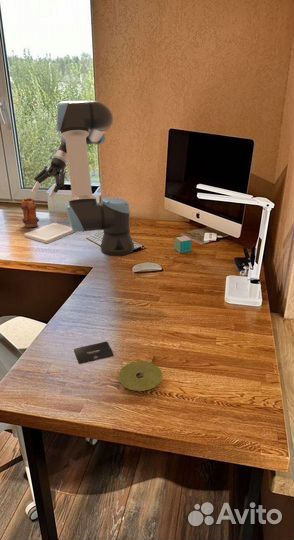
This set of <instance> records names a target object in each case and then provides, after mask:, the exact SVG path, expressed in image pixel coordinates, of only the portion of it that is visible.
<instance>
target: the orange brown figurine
mask: <svg viewBox="0 0 294 540" xmlns="http://www.w3.org/2000/svg"><path fill="white" fill-rule="evenodd" d="M20 208H21V210H22V214H23V218H22V219H21V221H22V223H23V224H24V226H25V227H26V228H34V227H37V226H38V223H39V221H40V219H39V217H37V212H36V211H37V210H36V209H37V208H38V207H37V205H36V203H35V199H34V198H29V197H28V198H27V197H26V198H24V199H23V198H22V199H21V205H20Z"/></svg>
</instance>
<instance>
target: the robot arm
mask: <svg viewBox="0 0 294 540" xmlns="http://www.w3.org/2000/svg"><path fill="white" fill-rule="evenodd" d="M56 110H57V111H56V112H57V113H56V131H57V132H58V133H60V137H61V138H60V145H59V147H58V149H57V150H56V152H55V154H54V156H53V158H52V160H51V161H50V166H49V167H48V166H47V165H46V166H44V168H43V169H42V170H41V171H40V172H39V173H38V174H37V175H36V176H35V177H34V181H35V183H34V185H33V187H32V189H31V193H32V194H33V195H36V194H37V192H38V191H39V189H40V187H41V185H42V184H41V183H42V182H44V181H45V180H47V179H48V178H50V177H52V178H53V177H54V179H55V184H54V185H53V187H52V189H51V190H50V192H49V194H48V196H49V197H50V198H51V199H54V198H55V195H56V194H57V193H58V191H59V190H60V188H61V187H62V188H64V186H65V178H66V174H67V171H66V170H65V168H66V166H67V164H68V172H69V184H70V191H71V198H70V199H69V200H68V203H69V204H67V205H66V206H65V209H66V214H67V218H68V223H69V227H71V228H72V230H73V231H75V232H74V233H79V232H82V233H84V232H91V231H103V236H102V240H101V243H100V252H101V253H102V254H104V255H107V256H112V257H120V256H121V257H122V256H127V255H129V254H131V253H133V252H134V251H133V249H134V250H135V243H134V242H133V238H132V235H131V225H130V224H131V223H130V221H131V220H130V218H131V216H130V213H131V210H130V204H129V202H128V201H127V200H126V199H123V198H119V197H114V196H111V197H104V198H102V200H101V202H97V198H96V196H94V195H93V191H92V181H91V172H90V164H89V154H88V146H87V145H103V144H104V143H105V141H106V137H105V136H106V134H105V133H106V131H107V130H109V129H110V128H111V127H112V125H113V123H114V116H113V113H112V111H111V109H110V108H109V107H108V106H107V105H106V104H104V103H102V102H101V101H98V100H67V101H66V100H65V101H60V102H58V103H57V108H56Z"/></svg>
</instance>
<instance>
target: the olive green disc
mask: <svg viewBox="0 0 294 540" xmlns="http://www.w3.org/2000/svg"><path fill="white" fill-rule="evenodd" d="M117 376H118V381H119V383H120V384H121V385H122V386H123V387H124V388H127V389H128V390H131V391H135V392H136V391H138V392H139V391H140V392H143V391H144V392H145V391H149V390H151V389H154V388H155V387H157V386H158V385H159V384H160V383H161V382H162V378H163V372H162V370H161V369H160V368H159V367H158V365H156V364H155V363H152V362H149V361H144V360H138V361H132V362H129V363H126V364H125V365H123V366H122V368H121V369H120V370H119V372H118V375H117Z"/></svg>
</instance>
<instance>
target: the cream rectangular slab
mask: <svg viewBox="0 0 294 540" xmlns="http://www.w3.org/2000/svg"><path fill="white" fill-rule="evenodd" d="M73 233H76V232H75V231H73V230H72V228H71V226H70V225H69V226H68V225H65V224H60V223H57V222H53V223H50V224H47V225H43V226H41V227H39V228H36V229H33V230H30V231H28V232H26V233H24V234H23V235H24V238H28V239H31V240H34V241H38V242H41V243H43V244H49V243H52V242H55V241H57V240H60V239H62V238H64V237H67V236H69V235H71V234H73Z"/></svg>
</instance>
